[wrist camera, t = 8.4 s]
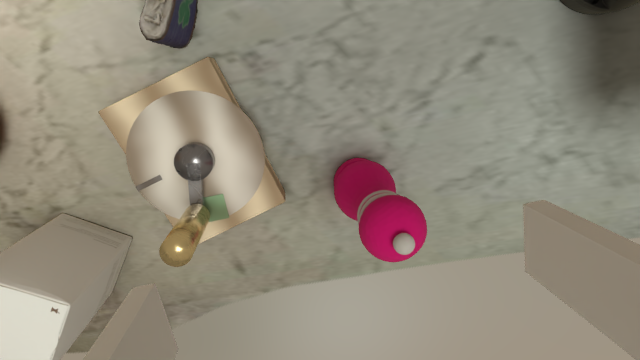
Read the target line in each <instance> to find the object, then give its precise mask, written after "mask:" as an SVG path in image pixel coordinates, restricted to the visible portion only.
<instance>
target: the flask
mask: <svg viewBox="0 0 640 360" xmlns="http://www.w3.org/2000/svg"><path fill="white" fill-rule="evenodd" d="M197 3H198V2H197V0H145V5H144V8H143V11H142V13H141V16H140V22H139V25H140V29H141V32H142V34H143V35H144V36H145V38H146V40H150V41H152V42H156V43H159V44H164V45H167V46H170V47H173V48H184V47H186V46H187V45H188V44H189V41H190V40H191V38H192V35H193V30H194V28H195V23H196V18H197V17H196V15H197Z"/></svg>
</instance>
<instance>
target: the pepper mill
mask: <svg viewBox="0 0 640 360" xmlns="http://www.w3.org/2000/svg"><path fill="white" fill-rule="evenodd" d="M334 195H335V199H336V202H337V204H338V206H339V207H340V209H341V210H342V211H343V212H344V213H345V214H346V215H347V216H348V217H350V218H352V219H354V220H357V221H358V223H359V234H360V238H361V241H362V243H363V245H364V246H365V248H366V249H367V250H368V251H369V252H370V253H371V254H372V255H374V256H375V257H377V258H378V259H381V260H383V261H388V262H399V261H403V260H406V259H409V258H410V257H412V256H413V255H414V254H416V253H417V252H418V251H419V249H420V248H421V247H422V245H423V243H424V242H425V238H426V234H427V225H426V220H425V217H424V215H423V213H422V211H421V209H420V208H419V207H418V206H417V205H416V204H415V203H414V202H413V201H411V200H409V199H408V198H406V197H403V196H400V195H398V194H396V188H395V183H394V180H393V178H392V176H391V175H390V173H389V172H388V171H387V169H385V168H384V167H383V166H382V165H380V164H378V163H376V162H372V161H370V160H367V159H365V158H353V159H350V160H347V161H346V162H344V163H343V164H342V165H341V166H340V167H339V168H338V170H337V171H336V174H335V177H334Z"/></svg>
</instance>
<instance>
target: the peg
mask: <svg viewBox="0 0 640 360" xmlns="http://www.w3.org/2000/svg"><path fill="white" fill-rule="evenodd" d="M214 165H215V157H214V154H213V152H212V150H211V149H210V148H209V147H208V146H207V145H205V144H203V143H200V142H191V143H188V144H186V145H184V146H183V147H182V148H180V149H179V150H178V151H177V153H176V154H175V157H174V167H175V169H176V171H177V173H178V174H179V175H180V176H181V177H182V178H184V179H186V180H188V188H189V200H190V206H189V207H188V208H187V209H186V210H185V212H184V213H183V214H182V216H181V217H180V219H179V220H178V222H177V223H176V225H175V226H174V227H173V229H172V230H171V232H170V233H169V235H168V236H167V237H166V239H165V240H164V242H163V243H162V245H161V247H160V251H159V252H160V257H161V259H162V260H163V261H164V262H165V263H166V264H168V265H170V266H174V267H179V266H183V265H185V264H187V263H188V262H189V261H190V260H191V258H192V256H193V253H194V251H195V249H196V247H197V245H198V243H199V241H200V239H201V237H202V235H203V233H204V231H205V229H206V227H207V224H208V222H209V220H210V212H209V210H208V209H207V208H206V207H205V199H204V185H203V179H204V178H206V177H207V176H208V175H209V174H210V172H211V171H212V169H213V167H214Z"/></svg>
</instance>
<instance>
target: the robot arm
mask: <svg viewBox="0 0 640 360" xmlns="http://www.w3.org/2000/svg"><path fill="white" fill-rule="evenodd" d="M561 1H562V2H563V3H564V4H565V5H566V6H568V7H569V8H571V9H573V10H575V11H577V12H580V13H584V14H603V13H608V12H613V11H618V10H622V9H625V8H627V7H630V6H632V5H634V4H636V3H638V2H640V0H561ZM523 213H524V247H525V272H526V273H528V274H529V275H530V276H531V277H533V278H534V279H535V280H537V281H538V282H539V283H540V284H541V285H543V286H544V287H545V288H547V289H548V290H549V291H550V292H551V293H553V294H554V295H555V296H557V297H558V298H559V299H560V300H562V301H563V302H564V303H565V304H567V305H568V306H569V307H570V308H572V309H573V310H574V311H575V312H577V313H578V314H579V315H580V316H582V317H583V318H584V319H585V320H587V321H588V322H589V323H590V324H592V325H593V326H594V327H596V328H597V329H598V330H599V331H600V332H602V333H603V334H604V335H605V336H607V337H608V338H609V339H611V340H612V341H613V342H614V343H616V344H617V345H618V346H619V347H621V348H622V349H623V350H624V351H626V352H627V353H628V354H629V355H631V356H632V357H633V358H634V359H636V360H640V245H639V244H637V243H635V242H633V241H631V240H629V239H627V238H624V237H622V236H620V235H618V234H616V233H614V232H612V231H609V230H607V229H605V228H603V227H601V226H599V225H597V224H595V223H592V222H590V221H588V220H586V219H584V218H582V217H580V216H577V215H575V214H573V213H571V212H569V211H567V210H565V209H562V208H560V207H558V206H556V205H554V204H552V203H550V202H548V201H545V200H540V201H535V202H530V203H526V204H523ZM177 352H178V347H177V344H176V341H175V339H174V336H173V333H172V330H171V327H170V324H169V321H168V318H167V316H166V313H165V310H164V307H163V304H162V301H161V298H160V295H159V293H158V290H157V287H156V284H155V283H153V284H148V285H144V286H139V287H134V288H132V289H131V291H130V292H129V294H128V295H127V297H126V298H125V299H124V301H123V302H122V304H121V305H120V307H119V308H118V310H117V311H116V312H115V314H114V315H113V317H112V318H111V320H110V321H109V323H108V324H107V325H106V327H105V328H104V330H103V331H102V333H101V334H100V336H99V337H98V338H97V340H96V341H95V343H94V344H93V346H92V347H91V349H90V350H89V351H88V353H87V354H86V356H85V357H84V359H83V360H175V357H176V354H177Z"/></svg>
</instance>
